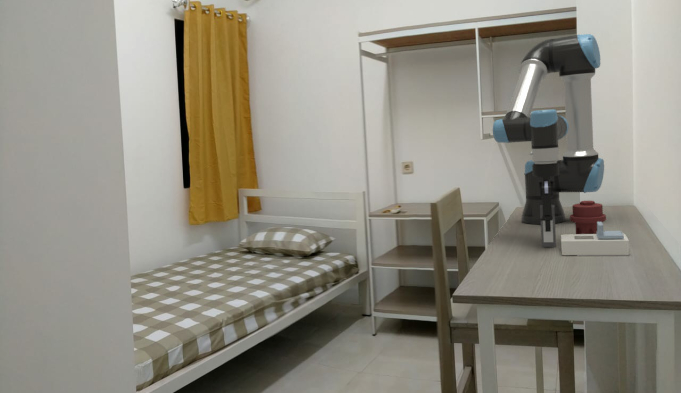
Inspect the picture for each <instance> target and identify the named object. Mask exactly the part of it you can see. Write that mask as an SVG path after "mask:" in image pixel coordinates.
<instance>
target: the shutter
mask: <svg viewBox="0 0 681 393" xmlns="http://www.w3.org/2000/svg"><path fill="white" fill-rule="evenodd" d="M596 234H597V237H598V239H619V238H624V235H623V234H624V233H623V231H622V230H604V224H603V222H597V231H596Z"/></svg>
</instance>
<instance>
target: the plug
mask: <svg viewBox="0 0 681 393" xmlns="http://www.w3.org/2000/svg"><path fill="white" fill-rule="evenodd" d="M551 207H552V220H553V242H544V237H543V221H541V224H540V238H541V239H540V240H541V248H556V247H557V239H556V223H555V210H554V205H551ZM540 219H543V205H540Z"/></svg>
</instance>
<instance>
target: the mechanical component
mask: <svg viewBox="0 0 681 393" xmlns="http://www.w3.org/2000/svg"><path fill="white" fill-rule="evenodd" d="M571 208H572V214H570V215H569V221H570V222H572V223H574V224H575V226H574V227H575V234H596V231H597V222H602V223H603V222H606V220H607V216H606V214H605V213H604V212H603V211H604V210H603V209H604V208H603V204H602V203H597V202H595V201H594V200H581V201H580V202H579V203H575V204H572V207H571Z"/></svg>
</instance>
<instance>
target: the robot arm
mask: <svg viewBox="0 0 681 393" xmlns="http://www.w3.org/2000/svg"><path fill="white" fill-rule="evenodd" d="M600 67H601V51H600V48H599V44H598V42H597V39H596V37H595V36H594V35H593V34H590V33H589V34H588V33H586V34H585V33H584V34H576V35H570V36H563V37H562V36H561V37H558V38H557V37H556V38H548V39H545V40H543V41H541V42H539V43H537V44H535V45H534V46H533V47H532V48H531V49H530V50H529V51H528V52H527V54H525V56H524V57H523V58H522V60H521V62H520V64H519V67H518V68H519V69H518V72H519V77H518V79H517V81H516V85H515V88H514V91H513V93H512V96H511V98H510V99H511V100H510V102H509V105H508V107H507V110H506V113H505V115H504V118H500V119H497V120H495V121H494V122H493V125H492V135H493V138H494V141H496V143H503V144H504V143H505V144H509V143H510V144H511V143H512V144H513V143H523V142H524V143H525V142H531V151H530V152H529V155H530V156H531V159H530V160H528V161H526V163H525V164H524V183H525V186H524V187H525V188H524V189H525V203H524V206H523V209H522V210H523V211H522V214H521V221H522V223H524V224H530V225H541V221H543V237H544V242H553V220H552V207H551V205H554V210H555V224H559V223H560V224H561V223H563V222H565V221H566V213H565V210H564V208H563V205H562V202H561V200H560V193H584V194H587V193H595V192H598V191H599V190H600V188H601V186H602V185H603V179H604V175H605V174H604V173H605V160H604V159H603V158H600V157H599V152H597V151H596V149H594V134H593V133H594V130H593V127H594V126H593V103H592V78H593V77H594V76H595V75H596V70H597V69H598V68H600ZM552 73H553V74H554V73H558V74H559V75H558V76H559V79H561V80H562V81H563V84H564V85H563V86H564V89H563V90H564V105H565V106H564V108H565V117H564V116H562V115H558V113H557V110H556V109H553V108H552V109H550V108H549V109H540V110H533V107H534V104H535V101H536V99H537V95H538V93H539V90H540V87H541V83H542V82H543V80H544V79H546V77H547V75H548V74H552ZM565 136H566V149H567V150H566V151H565V152H564V153H563V155H562V159H560V152H559V151H560V150H559V149H560V148H559V140H562V138H565ZM540 205H543V219H540Z"/></svg>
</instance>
